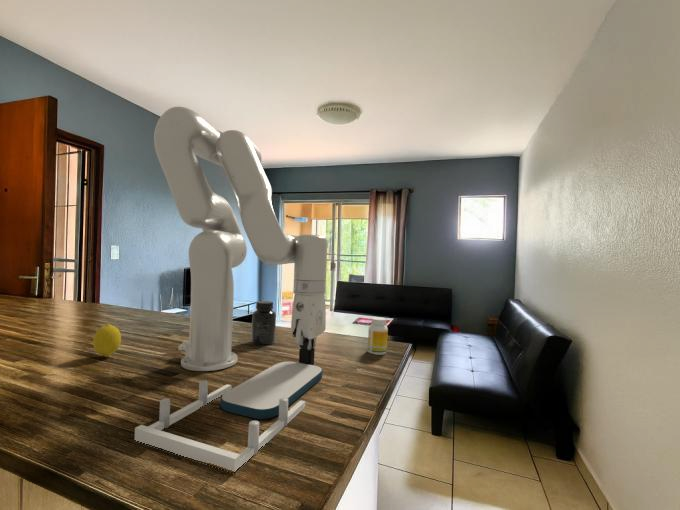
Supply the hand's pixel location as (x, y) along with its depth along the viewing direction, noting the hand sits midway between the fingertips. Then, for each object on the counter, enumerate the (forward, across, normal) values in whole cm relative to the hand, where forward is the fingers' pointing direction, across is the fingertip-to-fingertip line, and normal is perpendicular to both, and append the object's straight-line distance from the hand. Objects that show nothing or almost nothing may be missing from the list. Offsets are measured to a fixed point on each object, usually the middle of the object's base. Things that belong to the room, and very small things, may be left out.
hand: (306, 364), depth 78 cm
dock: (+1, -27, +1) cm, 27 cm away
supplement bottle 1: (+1, +14, +21) cm, 25 cm away
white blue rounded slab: (+1, -13, 0) cm, 13 cm away
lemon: (+1, -14, +46) cm, 48 cm away
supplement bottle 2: (+1, +21, -12) cm, 24 cm away
